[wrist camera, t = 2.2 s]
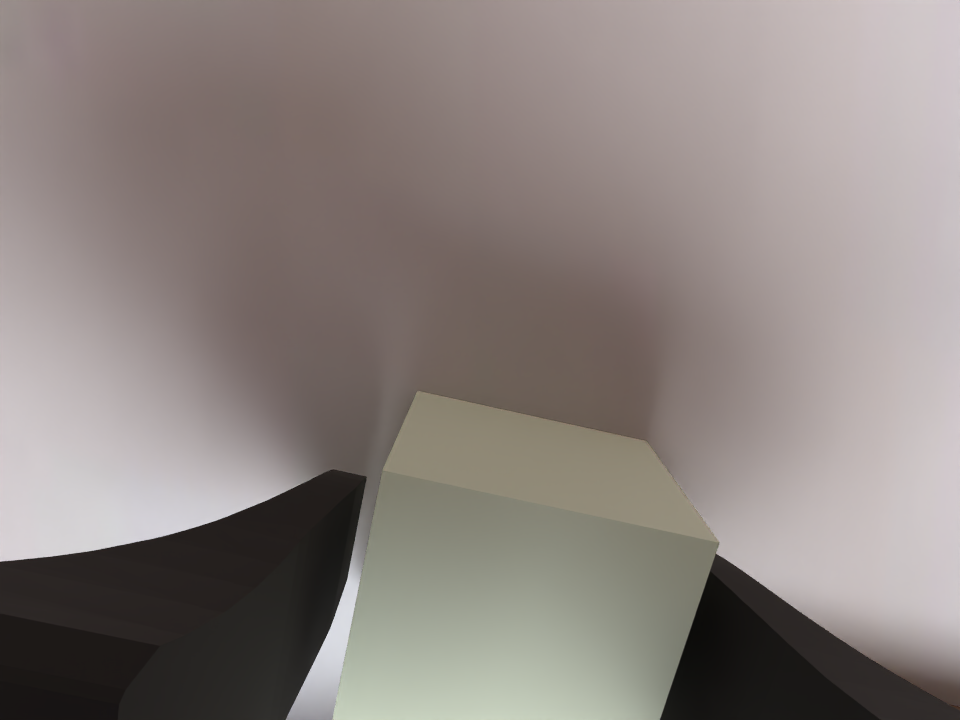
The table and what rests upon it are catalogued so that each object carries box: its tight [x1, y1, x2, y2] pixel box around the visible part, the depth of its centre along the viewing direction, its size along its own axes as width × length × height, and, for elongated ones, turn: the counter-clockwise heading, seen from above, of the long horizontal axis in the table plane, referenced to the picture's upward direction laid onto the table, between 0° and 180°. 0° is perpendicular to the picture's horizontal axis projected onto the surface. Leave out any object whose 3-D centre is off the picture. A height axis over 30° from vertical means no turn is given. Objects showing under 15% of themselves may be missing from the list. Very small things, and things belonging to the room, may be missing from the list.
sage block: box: [332, 391, 719, 720], centre depth 10 cm, size 4×4×4 cm
